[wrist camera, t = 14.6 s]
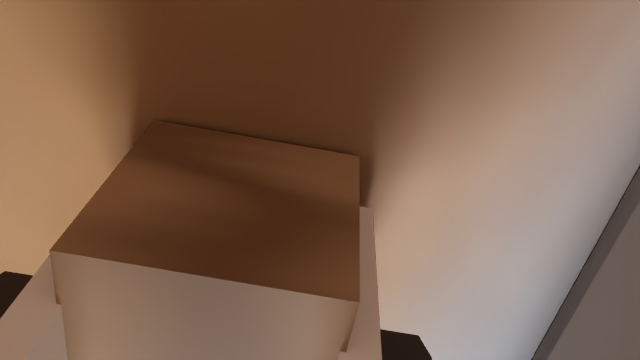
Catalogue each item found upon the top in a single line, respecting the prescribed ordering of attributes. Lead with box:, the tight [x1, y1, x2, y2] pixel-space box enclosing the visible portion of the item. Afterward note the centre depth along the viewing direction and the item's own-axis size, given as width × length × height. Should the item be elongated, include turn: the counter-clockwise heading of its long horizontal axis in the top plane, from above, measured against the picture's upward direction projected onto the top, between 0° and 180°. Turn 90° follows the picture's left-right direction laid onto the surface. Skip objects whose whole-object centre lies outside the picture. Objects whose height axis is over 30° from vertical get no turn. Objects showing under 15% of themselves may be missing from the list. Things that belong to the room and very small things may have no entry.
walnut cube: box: [50, 120, 360, 360], centre depth 12 cm, size 5×5×5 cm
